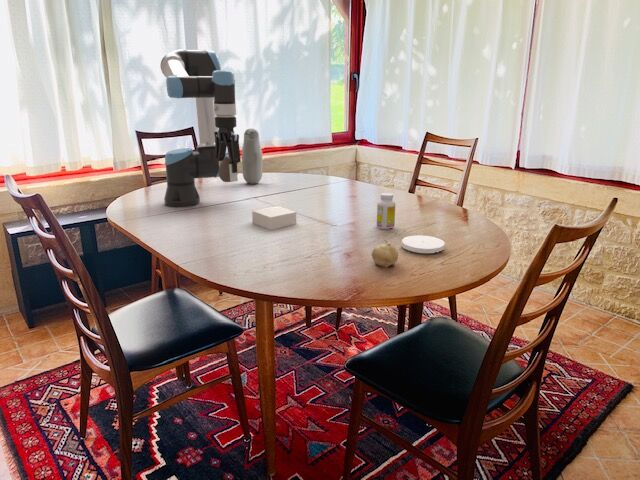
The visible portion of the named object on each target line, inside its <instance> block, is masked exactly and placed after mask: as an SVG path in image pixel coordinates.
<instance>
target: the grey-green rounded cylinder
mask: <svg viewBox="0 0 640 480" xmlns="http://www.w3.org/2000/svg"><path fill="white" fill-rule="evenodd" d="M241 168H242V169H241V170H242V177H243V179H244V182H246V183H247V184H251V185H253V184H254V185H255V184H258V183H259V182H260V181H261V180H262V178H263V151H262V147H261V142H260V135H259V132H258V130H257V129H255V128H247V129H246V130H245V131H244V133H243V144H242V147H241Z"/></svg>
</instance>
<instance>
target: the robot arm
mask: <svg viewBox="0 0 640 480" xmlns="http://www.w3.org/2000/svg"><path fill="white" fill-rule="evenodd" d="M160 70H161V73H162V75H163V76H164V77H165V78H166V80H165V81H166V92H167V96H168V97H169V98H171V99H191V98H192V99H194V98H195V106H196V107H195V109H196V116H197V117H196V118H197V128H198V137H199V144H198V145H197V147H196V151H194V150H193V148H191V147H187V148H185V147H183V148H177V149H173V150H169V151H167V152H166V153H165V156H164V160H165V161H164V162H165V163H164V166H165V176H166V190H165V194H164V199H163V200H164V201H163V202H164V205H166V206H169V207H174V208H175V207H176V208H177V207H179V208H180V207H181V208H182V207H191V206H195V205H198V204H200V202H201V198H200V195H199V192H198V190H197V187H196V183H195V179H207V178H208V179H209V178H220V176H219V166H220V164H221V163H222V161H223V159H224V157H229V158H230V163H229V169H230V182H229V183H233V182H238V180H239V179H238V174H237V170H238V164H239V163H242V159H241V152H240V151H241V150H240V143H239V142H240V141H239V140H240V135H239V134H237V133H235V131H234V128H237V117H236V115H237V108H236V106H237V103H236V86H235V84H236V80H235V73H234V71H232V70H222V68H221V63H220V58H219V56H218V54H217V53H216V51H214V50H206V49H175V50H173V51H170V52H168V53H167V54H165V55H164V57H162V59H161V61H160Z"/></svg>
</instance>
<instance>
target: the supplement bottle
mask: <svg viewBox="0 0 640 480" xmlns="http://www.w3.org/2000/svg"><path fill="white" fill-rule="evenodd" d="M379 197H380V200H378V201H377V203H376V204H377V205H376V209H377V210H376V227H377V228H378V229H380V228H383V229H382V230H390V229H389V228H392V229H394V228H395V221H396V220H395V218H396V202H395V201H394V193H392V192H391V193H390V192H382V193H380V196H379ZM393 227H394V228H393Z"/></svg>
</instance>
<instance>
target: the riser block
mask: <svg viewBox="0 0 640 480" xmlns="http://www.w3.org/2000/svg"><path fill="white" fill-rule="evenodd" d="M251 214H252V216H251V217H252V223H254V224H255V225H258V226H261V227H263V228H266V229H268V230H275V229H280V228H283V227H284V228H285V227H288V226H293V225H296V224H297V211H294V210H291V209H288V208H284V207H282V206H279V205H275V206H271V207H270V206H269V207H266V208H261V209H255V210H251Z"/></svg>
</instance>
